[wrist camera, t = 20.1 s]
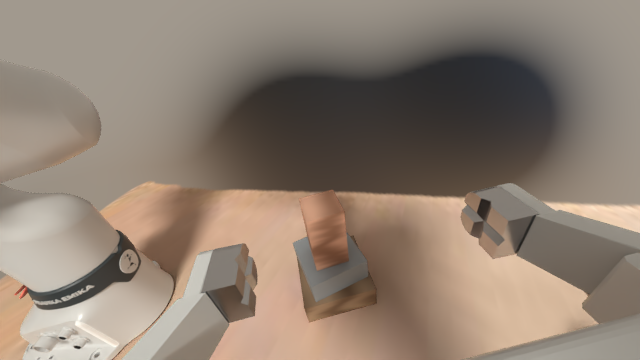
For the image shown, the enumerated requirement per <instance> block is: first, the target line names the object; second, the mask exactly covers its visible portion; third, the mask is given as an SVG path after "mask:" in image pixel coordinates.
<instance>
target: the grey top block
mask: <svg viewBox="0 0 640 360" xmlns="http://www.w3.org/2000/svg"><path fill="white" fill-rule="evenodd" d="M346 234H347V245H348V256H349V261H348V262H345V263H341V264H338V265H335V266H332V267H328V268H325V269H322V270H319V271H317V269H316V266H315V263H314V259H313V256H312V252H311V249H310V245H309V241H308V237H305V238H303V239H301V240H298V241H296V242H294V243H293V245H294V249H295V252H296V255H297V258H298V260H299V263H300V265H301V268H302V270H303V272H304V275H305V277H306V280H307V282H308V284H309V287H310V289H311V292H312V294H313V296H314V299H315V301H316V302H318V301H320V300H322V299H324V298H326V297H328V296H330V295H332V294H334V293H336V292H338V291H340V290H342V289H344V288H346V287H348V286H350V285H352V284H354V283H356V282H358V281H360V280H362V279H364V278H366V277H368V262H367V259H366V258H365V257H364V255H363V254H362V252H361V251H360V250H359V248H358V247H357V246H356V244H355V243H354V241H353V240H352V239H351V237H350V236H349V235H348V233H347V232H346Z"/></svg>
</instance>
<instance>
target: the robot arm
mask: <svg viewBox="0 0 640 360" xmlns="http://www.w3.org/2000/svg"><path fill="white" fill-rule="evenodd" d="M100 135H101V121H100V117H99V114H98V112H97V110H96V108H95V106H94V105H93V103H92V102H91V101H90V99H89V98H88V97H87V96H86V95H85V94H84V93H83V92H82V91H80V90H79V89H78V88H77V87H76V86H74V85H73V84H71V83H70V82H68V81H66V80H64V79H63V78H61V77H59V76H56V75H54V74H52V73H49V72H47V71H44V70H38V69H33V68H29V67H25V66H21V65H17V64H14V63H11V62H7V61H4V60H1V59H0V183H2V182H5V181H8V180H12V179H15V178H17V177H21V176H24V175H27V174H30V173H33V172H37V171H39V170H42V169H46V168H49V167H52V166H55V165H58V164H61V163H63V162H65V161H66V160H69V159H70V158H72V157H75V156H76V155H78V154H80V153H82V152H84V151H86V150H88V149H89V148H91V147H93V146H95V145H96V144H97V143H98V141H99V138H100ZM465 203H466V204H467V206H466V207H465V208H464V209H463V210H462V213H461V220H462V224H463V226H464V228H465V230H466V231H467V232H468V233H469V234H470V235H472V236H474V237H476V238H479V245H480V246H481V247H482V248H483V249H484V250H485V251H486V252H487V253H488V254H489V255H490V256H491V257H492V259H495V258H500V257H504V256H509V255H514V254H517V256H519V257H521V258H523V259H525V260H526V261H528V262H530V263H532V264H534V265H536V266H538V267H540V268H542V269H543V270H545V271H547V272H549V273H551V274H553V275H555V276H557V277H558V278H560V279H562V280H564V281H566V282H568V283H570V284H572V285H573V286H575V287H577V288H579V289H581V290H583V291H585V292H587V293H588V294H590V295H589V296H588V297H587V299H586V300H585V301H584V302H583V303H582V308H583V309H584V310H585V311H586V312H587V313H588V314H589V315H590V316H591V317H593V318H594V319H595V320H596V321H597V322H598V323H599V324H597V325H593V326H589V327H585V328H581V329H577V330H574V331H570V332H566V333H562V334H558V335H554V336H550V337H547V338H543V339H539V340H535V341H531V342H527V343H523V344H520V345H516V346H512V347H508V348H504V349H500V350H496V351H493V352H489V353H485V354H481V355H477V356H473V357H469V358H466V359H462V360H640V233H638V232H634V231H631V230H627V229H624V228H620V227H617V226H613V225H610V224H607V223H603V222H600V221H596V220H593V219H589V218H586V217H582V216H579V215H576V214H572V213H569V212H565V211H562V210H558V211H555V210H553V209H552V208H550V207H549V206H547V205H546V204H544V203H543V202H541V201H540V200H538V199H537V198H535V197H534V196H532V195H531V194H529V193H527V192H526V191H524V190H523V189H521V188H520V187H518V186H517V185H515V184H512V183H508V184H503V185H499V186H495V187H490V188H486V189H482V190H478V191H473V192H469V193H468V194H467V195H466V197H465ZM248 253H249V249H248V248H247V246H246V244H238V245H233V246H228V247H223V248H218V249H215V250H209V251H204V252H200V253H199V254H198V255H197V257H196V260H195V263H194V266H193V269H192V272H191V275H190V277H189V280H188V283H187V286H186V289H185V292H184V295H183V298H179V299H177V300H176V301H175V302H174V303H173V305H172V306H171V307H170V308H169V309H168V310H167V311H166V312H165V313H164V314H163V315H162V316H161V318H160V319H159V320H158V321H157V322H156V323H155V324H154V325H153V326H152V327H151V328H150V329H149V330H148V332H147V333H146V334H145V335H144V336H143V337H142V338H141V339H140V340H139V341H138V342H137V343H136V345H135V346H134V347H133V348H132V349H131V350H130V351H129V352H128V353H127V354H126V355H125V356H124V357H123V359H122V360H209V359H210V357H211V355H212V354H213V352H214V350H215V349H216V347H217V345H218V343H219V342H220V340H221V338H222V336H223V335H224V333H225V331H226V330H227V328H228V326H229V323H231V322H234V321H238V320H242V319H245V318H249V317H253V316H255V305H256V295H255V294H254V292H253V290H254V288H255V287H256V285H257V268H256V265H255V262H254V260H253V258H251V257H249V256H248ZM0 270H1V271H2V272H4V273H6V274H7V275H9V276H11V277H12V278H14V279H15V280H17V281H19V282H20V283H22V284H23V286H22V287H21V288H20V289H19V290H18V291H17V292H16V293H15V294H14V295H17V294H18V293H19V292H21V291H22V290H23V289H24V288H25V289H24V290H23V292H22V294H21V295H20V297H19V298H20V299H21V298H23V297H24V296H25V295H26V294H27V293H29V295H30V297H31V298H32V300H33V302H34V304H33V306H32V308H31V309H30V311H29V312H28V314H27V316H26V317H25V319H24V321H23V323H22V325H21V329H20V335H21V337H22V338H23V339H25V340H26V341H28V342H30V343H29V345H28V347H27V349H26V351H25V353H24V356H23V360H112V359H113V358H114V357H115V356H116V355H117V354H118V353H119V352H120V351H121V350H122V348H123V347H124V346H125V345H126V344H128V343H129V342H130V341H131V340H133V339H134V338H136V337H137V336H138V335H140V334H141V333H142V332H143V331H145V330H146V329H147V328H148V327H149V326H150V325H151V324H152V323H153V322H154V321H155V320H156V319H157V318H158V317H159V316H160V314H161V313H162V312H163V310H164V309H165V307H166V306H167V304H168V302H169V300H170V298H171V296H172V293H173V288H174V282H173V278H172V277H171V275H170V274H168V273H167V272H165V271H163V270H162V269H161V268H160V266H159V264H158V263H157V262H156V261H151V260H150V259H148V258H147V257H146V256H145V255H144V254H142V253H141V252H140V251H139V250H138V249H136V248H135V247H134V245H133V244H132V243H131V242H130V240H129V239H128V237H127V236H126V235H124V234H123V233H122V232H120V231H118V230H115V229H114V228H113V227H112V226H111V225H110V224H109V222H108V221H107V220H106V219H105V218H104V217H103V216H102V215H101V214H100V213H99V211H98V210H97V209H96V208H95V207H94V206H93V205H92V204H91V203H90V202H89V201H87V200H85V199H83V198H81V197H78V196H75V195H71V194H65V193H43V194H42V193H29V192H24V191H19V190H15V189H12V188H9V187H7V186H5V185H2V184H0Z"/></svg>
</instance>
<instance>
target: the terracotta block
mask: <svg viewBox="0 0 640 360" xmlns="http://www.w3.org/2000/svg"><path fill="white" fill-rule="evenodd" d="M299 201H300V206H301V210H302V214H303V219H304V223H305V228H306V232H307V236H308V241H309V245H310V249H311V252H312V256H313V259H314V263H315V266H316V269H317V271H319V270H322V269H325V268H328V267H332V266H335V265H338V264H341V263H345V262H348V261H349V256H348V245H347V234H346V223H345V213H344V210H343V208H342V206H341V204H340V202H339V200H338V199H337V197H336V195H335V193H334V191H333V190H329V191H325V192H321V193H318V194H314V195H310V196H306V197H302V198H299Z"/></svg>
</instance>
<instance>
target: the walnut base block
mask: <svg viewBox="0 0 640 360" xmlns="http://www.w3.org/2000/svg"><path fill="white" fill-rule="evenodd" d="M350 237H351V239H352V240H353V241H354V243H355V244H356V246H357V247H358V245H357V243H356V241H355V238H354V236H350ZM297 260H298V258H297ZM298 267H299V274H300V281H301V288H302V294H303V301H304V308H305V312H306V314H307V317H308V320H309V322H313V321H316V320H320V319H323V318H327V317H330V316H334V315H337V314H341V313H344V312H347V311H351V310H354V309H358V308H361V307H365V306H368V305H372V304H375V303H376V287H375V285H374V283H373V280H372V278H371V276H370V273H369V271H368V277H366V278H364V279H362V280H360V281H358V282H356V283H354V284H352V285H350V286H348V287H346V288H344V289H342V290H340V291H338V292H336V293H334V294H332V295H330V296H328V297H326V298H324V299H322V300H320V301H318V302H316V301H315V299H314V296H313V294H312V292H311V289H310V287H309V284H308V282H307V280H306V277H305V275H304V272H303V270H302V268H301V265H300V263H299V260H298Z"/></svg>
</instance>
